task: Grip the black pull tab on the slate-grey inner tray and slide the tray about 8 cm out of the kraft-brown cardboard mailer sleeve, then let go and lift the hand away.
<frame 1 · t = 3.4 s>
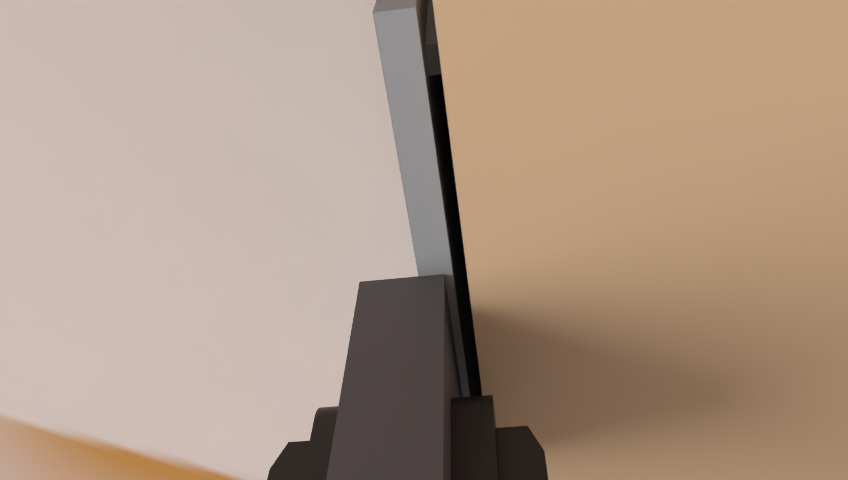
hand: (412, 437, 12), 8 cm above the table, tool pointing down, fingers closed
mailer sleeve: (727, 165, 18), on the table
tray: (756, 345, 13), point 7 cm above the table, slide at 0.0 cm, touching gripper
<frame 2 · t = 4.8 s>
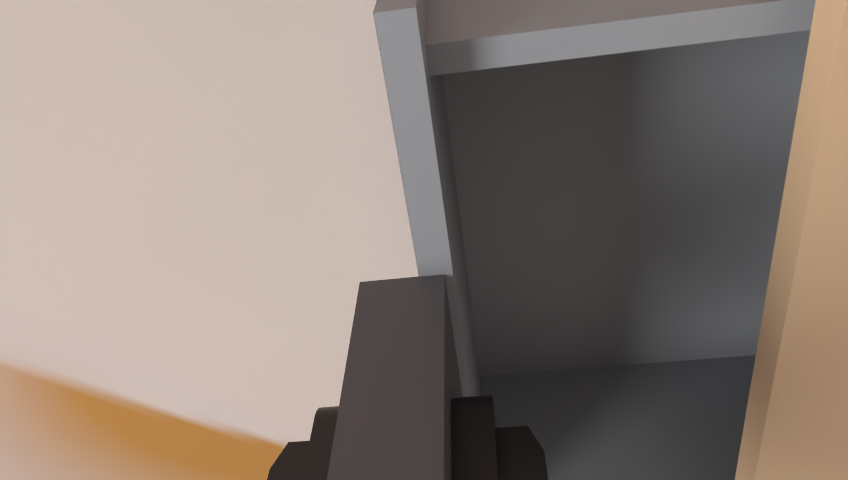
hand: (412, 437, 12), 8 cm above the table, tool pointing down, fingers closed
tray: (756, 345, 13), point 7 cm above the table, slide at 5.1 cm, touching gripper
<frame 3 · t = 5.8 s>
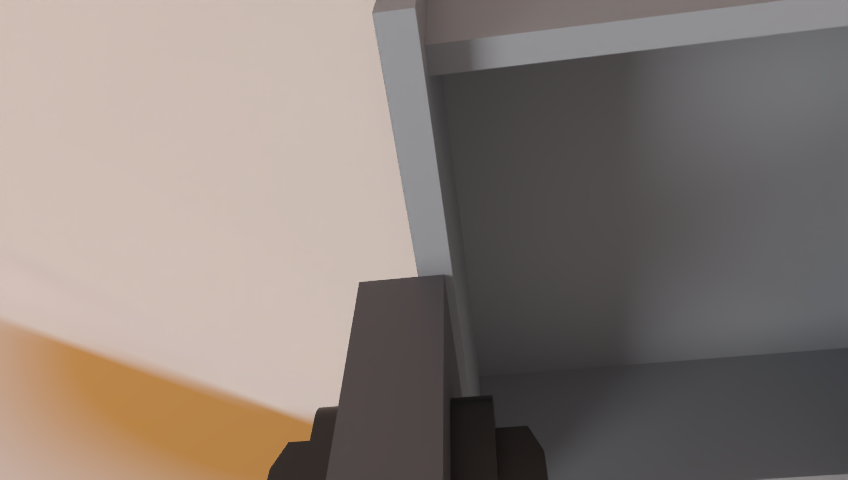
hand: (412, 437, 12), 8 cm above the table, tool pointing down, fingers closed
tray: (755, 346, 13), point 7 cm above the table, slide at 8.4 cm, touching gripper
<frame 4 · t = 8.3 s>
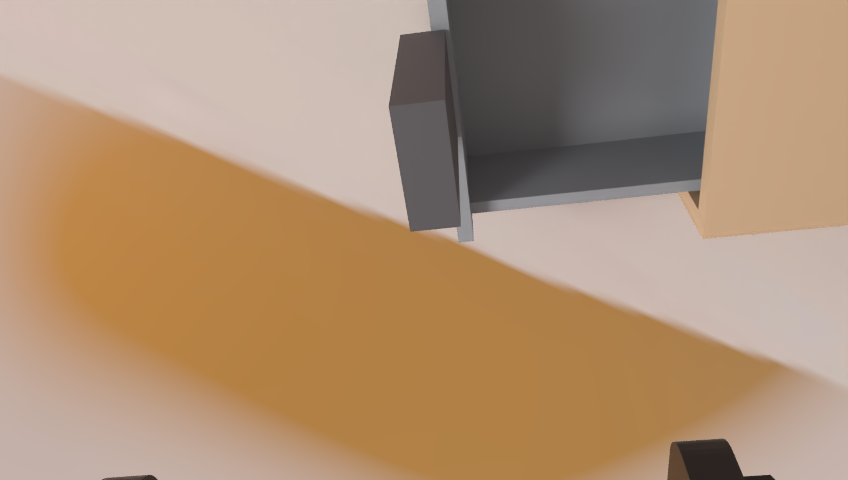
tray: (609, 70, 24), point 6 cm above the table, slide at 8.4 cm
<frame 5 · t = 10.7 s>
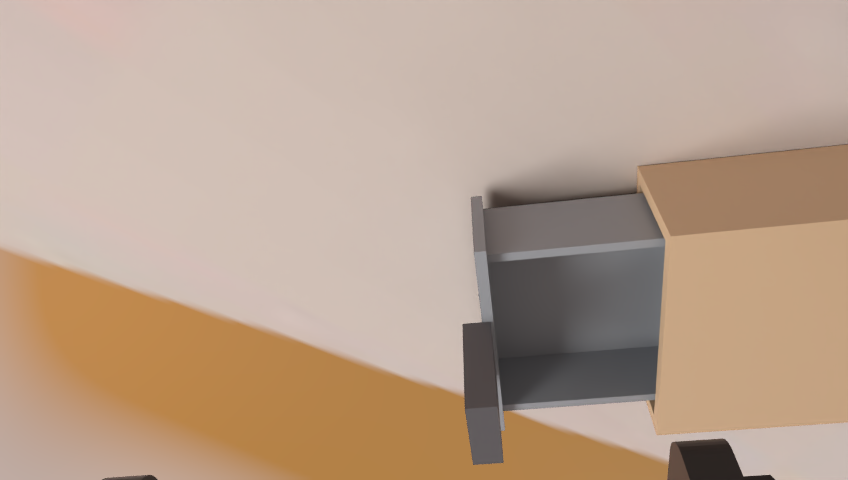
mailer sleeve: (744, 257, 42), on the table
tray: (593, 345, 38), point 7 cm above the table, slide at 8.4 cm
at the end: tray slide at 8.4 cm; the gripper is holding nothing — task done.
